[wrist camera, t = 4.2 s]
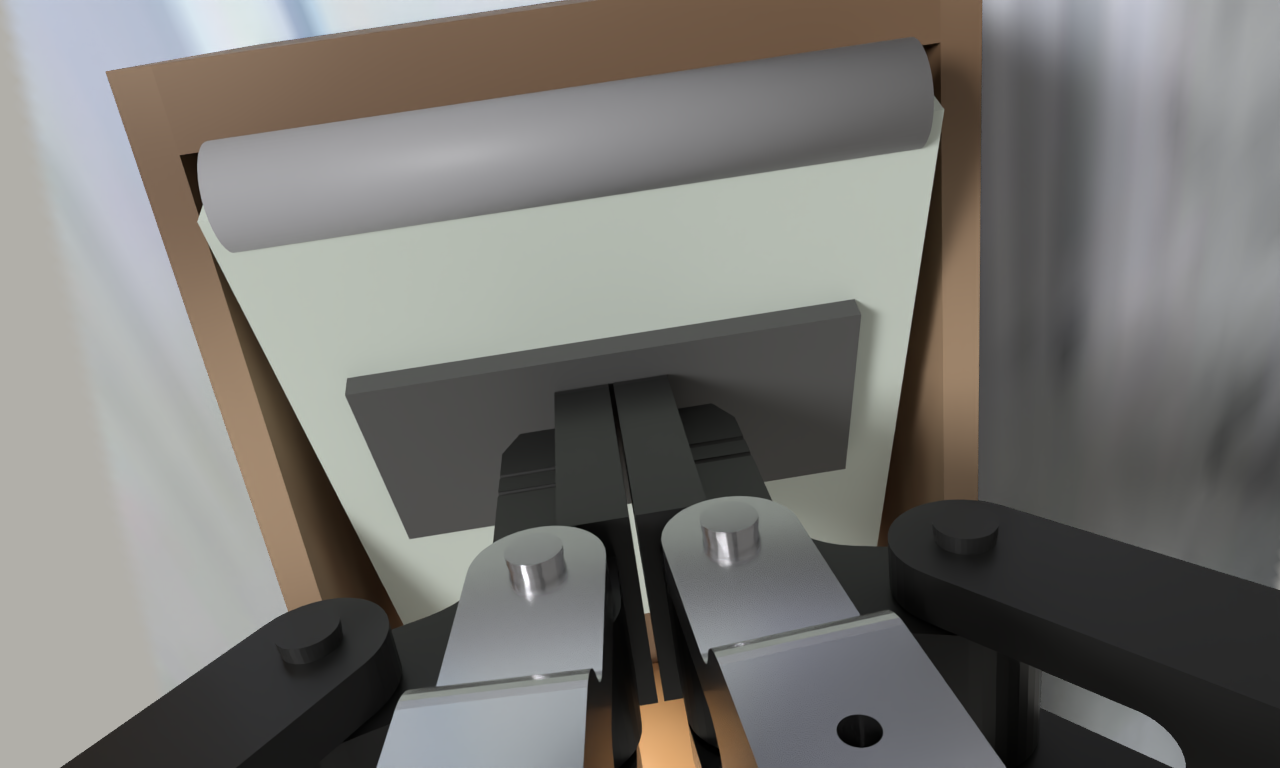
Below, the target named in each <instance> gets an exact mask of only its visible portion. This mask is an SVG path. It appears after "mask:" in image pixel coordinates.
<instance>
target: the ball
mask: <svg viewBox="0 0 1280 768" xmlns="http://www.w3.org/2000/svg"><path fill="white" fill-rule="evenodd" d="M652 666H653V672H654V678H655V685H656V691H657V697H658V703H654V704H648V705H642V706H640V712H641V720H642V734H641V739H640V742H639V748H640V753H641V759H642V766H643V768H696V767H695V764H694V760H693V755H692V748H691V741H690V734H689V728H688V721H687V715H686V710H685V704H684V699H683V698H682V699H676V700H670V701H664V696H663V690H662V684H661V678H660V672H659V666H658V663H654V664H652Z"/></svg>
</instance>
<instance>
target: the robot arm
mask: <svg viewBox="0 0 1280 768" xmlns="http://www.w3.org/2000/svg"><path fill="white" fill-rule="evenodd" d="M613 386H614V393H615V399H616V406H617V412H618V419H619V425H620V431H621V438H622V444H623V451H624V457H625V463H626V470H627V476H628V483H629V489H630V495H631V502H632V508H633V514H634V520H635V527H636V533H637V539H638V545H639V551H640V557H641V563H642V569H643V575H644V581H645V587H646V593H647V599H648V605H649V611H650V617H651V623H652V629H653V635H654V642H655V648H656V654H657V660H658V666H659V672H660V678H661V684H662V690H663V696H664V701H670V700H676V699H682V698H683V699H684V704H685V710H686V715H687V721H688V728H689V734H690V741H691V748H692V755H693V760H694V764H695V767H696V768H1172V767H1170V766H1168V765H1166V764H1163V763H1161V762H1159V761H1157V760H1155V759H1152V758H1150V757H1148V756H1146V755H1144V754H1141V753H1139V752H1137V751H1135V750H1132V749H1130V748H1128V747H1126V746H1124V745H1121V744H1119V743H1117V742H1115V741H1112V740H1110V739H1108V738H1106V737H1104V736H1101V735H1099V734H1097V733H1095V732H1092V731H1090V730H1088V729H1086V728H1084V727H1081V726H1079V725H1077V724H1075V723H1072V722H1070V721H1068V720H1066V719H1064V718H1061V717H1059V716H1057V715H1055V714H1053V713H1050V712H1048V711H1046V710H1044V709H1041V708H1040V698H1041V672H1042V671H1044V672H1046V673H1049V674H1051V675H1053V676H1056V677H1058V678H1061V679H1063V680H1065V681H1068V682H1070V683H1072V684H1075V685H1077V686H1080V687H1082V688H1084V689H1087V690H1089V691H1091V692H1094V693H1096V694H1099V695H1101V696H1103V697H1106V698H1108V699H1110V700H1113V701H1115V702H1117V703H1120V704H1122V705H1125V706H1127V707H1129V708H1132V709H1134V710H1136V711H1139V712H1141V713H1143V714H1145V715H1147V716H1149V717H1150V718H1152V719H1153V720H1155V721H1156V722H1157V723H1159V724H1160V725H1161V726H1163V727H1164V728H1165V729H1166V730H1167V731H1168V732H1169V733H1170V734H1171V735H1172V737H1173V738H1174V739H1175V740H1176V742H1177V743H1178V745H1179V747H1180V748H1181V750H1182V753H1183V755H1184V758H1185V762H1186V768H1280V590H1277V589H1274V588H1271V587H1267V586H1264V585H1261V584H1258V583H1254V582H1251V581H1248V580H1244V579H1241V578H1238V577H1235V576H1231V575H1228V574H1225V573H1222V572H1218V571H1215V570H1212V569H1208V568H1205V567H1202V566H1199V565H1195V564H1192V563H1189V562H1185V561H1182V560H1179V559H1176V558H1172V557H1169V556H1166V555H1162V554H1159V553H1156V552H1153V551H1149V550H1146V549H1143V548H1139V547H1136V546H1133V545H1130V544H1126V543H1123V542H1120V541H1117V540H1113V539H1110V538H1107V537H1103V536H1100V535H1097V534H1094V533H1090V532H1087V531H1084V530H1080V529H1077V528H1074V527H1071V526H1067V525H1064V524H1061V523H1057V522H1054V521H1051V520H1048V519H1044V518H1041V517H1038V516H1034V515H1031V514H1028V513H1025V512H1021V511H1018V510H1015V509H1012V508H1008V507H1005V506H1002V505H998V504H994V503H990V502H984V501H977V500H964V499H963V500H942V501H936V502H930V503H926V504H923V505H919V506H916V507H914V508H912V509H910V510H907V511H906V512H904V513H903V514H901V515H900V516H899V517H898V518H896V519H895V520H894V521H893V523H892V525H891V526H890V528H889V531H888V547H881V546H851V545H839V544H832V543H827V542H823V541H819V540H815V539H812V538H810V536H809V535H808V533H807V531H806V530H805V528H804V527H803V525H802V524H801V522H800V521H799V519H798V518H797V516H796V515H795V514H794V513H793V512H792V511H791V510H789V509H788V508H787V507H785V506H783V505H781V504H779V503H777V502H774V501H772V499H771V497H770V494H769V492H768V490H767V488H766V486H765V483H764V481H763V479H762V477H761V474H760V472H759V470H758V468H757V465H756V463H755V461H754V459H753V456H752V455H751V454H750V450H749V448H748V445H747V443H746V441H745V439H744V438H743V434H742V432H741V430H740V427H739V425H738V423H737V421H736V419H735V417H734V416H732V415H731V414H729V413H727V412H726V411H724V410H722V409H721V408H719V407H717V406H716V405H714V404H712V403H710V404H704V405H697V406H691V407H685V408H679V409H677V405H676V402H675V399H674V396H673V393H672V390H671V386H670V383H669V380H668V377H667V375H659V376H653V377H647V378H640V379H634V380H628V381H621V382H615V383H613ZM554 410H555V428H554V429H548V430H541V431H535V432H529V433H523V434H519V435H518V437H517V438H516V439H515V440H514V441H513V442H512V444H511V445H510V446H509V447H508V448H507V449H506V450H505V452H504V453H503V454H502V460H501V470H500V479H499V489H498V494H499V496H498V499H497V509H496V518H495V528H494V538H493V544H491V545H489V546H488V547H487V548H485V549H484V550H483V551H481V552H480V553H479V554H478V555H477V556H476V557H475V558H474V560H473V561H472V563H471V564H470V566H469V568H468V571H467V574H466V578H465V581H464V585H463V589H462V592H461V596H460V600H459V601H458V602H456V603H455V604H453V605H451V606H449V607H447V608H445V609H444V610H442V611H439V612H437V613H435V614H432V615H430V616H427V617H425V618H422V619H419V620H416V621H414V622H411V623H408V624H406V625H403V626H400V627H398V628H395V629H392V630H391V627H390V623H389V620H388V616H387V614H386V613H385V611H384V610H383V609H382V608H381V607H380V606H379V605H377V604H375V603H373V602H371V601H368V600H364V599H359V598H334V599H327V600H322V601H318V602H314V603H310V604H307V605H304V606H301V607H299V608H296V609H294V610H291V611H289V612H287V613H285V614H283V615H281V616H279V617H277V618H275V619H274V620H272V621H271V622H269V623H267V624H266V625H264V626H263V627H261V628H260V629H259V630H257V631H256V632H254V633H253V634H251V635H250V636H249V637H247V638H246V639H244V640H243V641H241V642H240V643H239V644H237V645H236V646H234V647H233V648H231V649H230V650H228V651H227V652H226V653H224V654H223V655H221V656H220V657H218V658H217V659H216V660H214V661H213V662H211V663H210V664H208V665H207V666H206V667H204V668H203V669H201V670H200V671H198V672H197V673H195V674H194V675H193V676H191V677H190V678H188V679H187V680H185V681H184V682H183V683H181V684H180V685H178V686H177V687H175V688H174V689H173V690H171V691H170V692H168V693H167V694H165V695H164V696H162V697H161V698H160V699H158V700H157V701H155V702H154V703H152V704H151V705H150V706H148V707H147V708H145V709H144V710H142V711H141V712H140V713H138V714H137V715H135V716H134V717H132V718H131V719H129V720H128V721H127V722H125V723H124V724H122V725H121V726H119V727H118V728H117V729H115V730H114V731H112V732H111V733H109V734H108V735H107V736H105V737H104V738H102V739H101V740H100V741H98V742H97V743H95V744H94V745H92V746H91V747H89V748H88V749H86V750H85V751H84V752H82V753H81V754H79V755H78V756H76V757H75V758H74V759H72V760H71V761H69V762H68V763H66V764H65V765H63V766H62V767H61V768H643V766H642V759H641V753H640V748H639V742H640V739H641V734H642V720H641V712H640V706H642V705H648V704H654V703H658V697H657V691H656V685H655V678H654V672H653V666H652V659H651V653H650V646H649V640H648V634H647V627H646V621H645V614H644V608H643V602H642V595H641V589H640V582H639V576H638V570H637V563H636V557H635V550H634V544H633V538H632V531H631V525H630V519H629V512H628V506H627V500H626V493H625V487H624V481H623V474H622V468H621V462H620V455H619V449H618V443H617V436H616V430H615V424H614V418H613V411H612V405H611V399H610V392H609V386H608V384H603V385H597V386H591V387H584V388H578V389H572V390H565V391H559V392H555V393H554Z"/></svg>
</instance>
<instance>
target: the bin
mask: <svg viewBox="0 0 1280 768" xmlns="http://www.w3.org/2000/svg"><path fill="white" fill-rule="evenodd" d="M907 37H914V38H916V39H918V40H919V42H920V43H921V44H922V46H923V48H924V50H925V52H926V55H927V57H928V61H929V64H930V68H931V74H932V80H933V90H934V96H935V97H936V99H937V100H938V102H939V103H940V104H941V106H942V107H943V108H944V115H943V121H942V128H941V134H940V141H939V147H938V154H937V160H936V167H935V173H934V180H933V186H932V193H931V199H930V206H929V212H928V219H927V225H926V231H925V238H924V244H923V251H922V257H921V264H920V270H919V277H918V283H917V290H916V296H915V303H914V309H913V316H912V322H911V329H910V335H909V342H908V348H907V355H906V361H905V368H904V374H903V381H902V387H901V394H900V400H899V407H898V413H897V420H896V426H895V432H894V439H893V445H892V452H891V458H890V465H889V471H888V478H887V484H886V491H885V497H884V504H883V510H882V517H881V523H880V530H879V536H878V543H877V546H881V547H888V531H889V528H890V526H891V525H892V523H893V521H894V520H895V519H896V518H898V517H899V516H900V515H901V514H903V513H904V512H906V511H907V510H910V509H912V508H914V507H916V506H919V505H923V504H926V503H930V502H936V501H942V500H963V499H964V500H977V501H978V427H979V311H980V196H981V80H982V0H563V1H557V2H550V3H543V4H536V5H529V6H522V7H515V8H508V9H501V10H494V11H487V12H481V13H474V14H467V15H460V16H453V17H446V18H439V19H432V20H425V21H418V22H412V23H405V24H398V25H391V26H384V27H377V28H370V29H363V30H356V31H349V32H343V33H336V34H329V35H322V36H315V37H308V38H301V39H294V40H287V41H280V42H274V43H267V44H260V45H254V46H248V47H242V48H237V49H231V50H225V51H220V52H214V53H208V54H202V55H197V56H191V57H185V58H180V59H174V60H168V61H162V62H157V63H151V64H145V65H140V66H134V67H128V68H122V69H117V70H111V71H106V74H107V77H108V80H109V83H110V86H111V89H112V92H113V95H114V98H115V101H116V104H117V107H118V110H119V113H120V116H121V119H122V122H123V125H124V128H125V131H126V133H127V136H128V139H129V142H130V145H131V148H132V151H133V154H134V157H135V160H136V163H137V166H138V169H139V172H140V175H141V178H142V181H143V184H144V187H145V190H146V193H147V195H148V198H149V201H150V204H151V207H152V210H153V213H154V216H155V219H156V222H157V225H158V228H159V231H160V234H161V237H162V240H163V243H164V246H165V249H166V252H167V255H168V258H169V260H170V263H171V266H172V269H173V272H174V275H175V278H176V281H177V284H178V287H179V290H180V293H181V296H182V299H183V302H184V305H185V308H186V311H187V314H188V317H189V320H190V323H191V325H192V328H193V331H194V334H195V337H196V340H197V343H198V346H199V349H200V352H201V355H202V358H203V361H204V364H205V367H206V370H207V373H208V376H209V379H210V382H211V385H212V388H213V390H214V393H215V396H216V399H217V402H218V405H219V408H220V411H221V414H222V417H223V420H224V423H225V426H226V429H227V432H228V435H229V438H230V441H231V444H232V447H233V450H234V453H235V455H236V458H237V461H238V464H239V467H240V470H241V473H242V476H243V479H244V482H245V485H246V488H247V491H248V494H249V497H250V500H251V503H252V506H253V509H254V512H255V515H256V517H257V520H258V523H259V526H260V529H261V532H262V535H263V538H264V541H265V544H266V547H267V550H268V553H269V556H270V559H271V562H272V565H273V568H274V571H275V574H276V577H277V580H278V582H279V585H280V588H281V591H282V594H283V597H284V600H285V603H286V606H287V609H288V612H289V611H291V610H294V609H296V608H299V607H301V606H304V605H307V604H310V603H314V602H318V601H322V600H327V599H334V598H359V599H364V600H368V601H371V602H373V603H375V604H377V605H379V606H380V607H381V608H382V609H383V610H384V611H385V613H386V614H387V616H388V620H389V623H390V627H391V630H392V629H395V628H398V627H400V626H403V623H402V621H401V619H400V617H399V615H398V613H397V611H396V609H395V607H394V605H393V603H392V601H391V599H390V597H389V595H388V593H387V591H386V589H385V587H384V586H383V584H382V582H381V580H380V578H379V576H378V574H377V572H376V570H375V568H374V566H373V564H372V562H371V560H370V558H369V556H368V554H367V552H366V550H365V548H364V546H363V545H362V543H361V541H360V539H359V537H358V535H357V533H356V531H355V529H354V527H353V525H352V523H351V521H350V519H349V517H348V515H347V513H346V511H345V509H344V507H343V505H342V504H341V502H340V500H339V498H338V496H337V494H336V492H335V490H334V488H333V486H332V484H331V482H330V480H329V478H328V476H327V474H326V472H325V470H324V468H323V466H322V464H321V463H320V461H319V459H318V457H317V455H316V453H315V451H314V449H313V447H312V445H311V443H310V441H309V439H308V437H307V435H306V433H305V431H304V429H303V427H302V425H301V424H300V422H299V420H298V418H297V416H296V414H295V412H294V410H293V408H292V406H291V404H290V402H289V400H288V398H287V396H286V394H285V392H284V390H283V388H282V386H281V384H280V383H279V381H278V379H277V377H276V375H275V373H274V371H273V369H272V367H271V365H270V363H269V361H268V359H267V357H266V355H265V353H264V351H263V349H262V347H261V345H260V343H259V342H258V340H257V338H256V336H255V334H254V332H253V330H252V328H251V326H250V324H249V322H248V320H247V318H246V316H245V314H244V312H243V310H242V308H241V306H240V304H239V302H238V301H237V299H236V297H235V295H234V293H233V291H232V289H231V287H230V285H229V283H228V281H227V279H226V277H225V275H224V273H223V271H222V269H221V267H220V265H219V263H218V261H217V260H216V258H215V256H214V254H213V252H212V250H211V248H210V246H209V244H208V242H207V240H206V238H205V236H204V234H203V232H202V230H201V228H200V226H199V224H198V222H197V221H198V218H199V215H200V212H201V209H202V206H203V203H202V199H201V195H200V189H199V183H198V174H197V161H198V153H199V150H200V147H201V145H202V144H203V143H204V142H206V141H210V140H217V139H224V138H230V137H237V136H244V135H251V134H257V133H264V132H271V131H278V130H284V129H291V128H298V127H305V126H312V125H318V124H325V123H332V122H339V121H345V120H352V119H359V118H366V117H372V116H379V115H386V114H393V113H400V112H406V111H413V110H420V109H427V108H433V107H440V106H447V105H454V104H460V103H467V102H474V101H481V100H488V99H494V98H501V97H508V96H515V95H521V94H528V93H535V92H542V91H548V90H555V89H562V88H569V87H575V86H582V85H589V84H596V83H603V82H609V81H616V80H623V79H630V78H636V77H643V76H650V75H657V74H663V73H670V72H677V71H684V70H691V69H697V68H704V67H711V66H718V65H724V64H731V63H738V62H745V61H751V60H758V59H765V58H772V57H779V56H785V55H792V54H799V53H806V52H812V51H819V50H826V49H833V48H839V47H846V46H853V45H860V44H867V43H873V42H880V41H887V40H894V39H900V38H907ZM645 621H646V627H647V634H648V640H649V646H650V653H651V659H652V664H654V663H658V660H657V654H656V648H655V642H654V635H653V629H652V623H651V617H650V613H645Z"/></svg>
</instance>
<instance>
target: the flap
mask: <svg viewBox="0 0 1280 768" xmlns="http://www.w3.org/2000/svg"><path fill="white" fill-rule="evenodd" d="M943 115H944V108H943V107H942V106H941V104H940V103H939V102H938V100H937V99H936V97H935V96H934V90H933V80H932V74H931V68H930V64H929V61H928V57H927V55H926V52H925V50H924V48H923V46H922V44H921V43H920V42H919V40H918V39H916V38H914V37H907V38H900V39H894V40H887V41H880V42H873V43H867V44H860V45H853V46H846V47H839V48H833V49H826V50H819V51H812V52H806V53H799V54H792V55H785V56H779V57H772V58H765V59H758V60H751V61H745V62H738V63H731V64H724V65H718V66H711V67H704V68H697V69H691V70H684V71H677V72H670V73H663V74H657V75H650V76H643V77H636V78H630V79H623V80H616V81H609V82H603V83H596V84H589V85H582V86H575V87H569V88H562V89H555V90H548V91H542V92H535V93H528V94H521V95H515V96H508V97H501V98H494V99H488V100H481V101H474V102H467V103H460V104H454V105H447V106H440V107H433V108H427V109H420V110H413V111H406V112H400V113H393V114H386V115H379V116H372V117H366V118H359V119H352V120H345V121H339V122H332V123H325V124H318V125H312V126H305V127H298V128H291V129H284V130H278V131H271V132H264V133H257V134H251V135H244V136H237V137H230V138H224V139H217V140H210V141H206V142H204V143H203V144H202V145H201V147H200V150H199V153H198V161H197V174H198V183H199V189H200V195H201V199H202V203H203V206H202V209H201V212H200V215H199V218H198V221H197V222H198V224H199V226H200V228H201V230H202V232H203V234H204V236H205V238H206V240H207V242H208V244H209V246H210V248H211V250H212V252H213V254H214V256H215V258H216V260H217V261H218V263H219V265H220V267H221V269H222V271H223V273H224V275H225V277H226V279H227V281H228V283H229V285H230V287H231V289H232V291H233V293H234V295H235V297H236V299H237V301H238V302H239V304H240V306H241V308H242V310H243V312H244V314H245V316H246V318H247V320H248V322H249V324H250V326H251V328H252V330H253V332H254V334H255V336H256V338H257V340H258V342H259V343H260V345H261V347H262V349H263V351H264V353H265V355H266V357H267V359H268V361H269V363H270V365H271V367H272V369H273V371H274V373H275V375H276V377H277V379H278V381H279V383H280V384H281V386H282V388H283V390H284V392H285V394H286V396H287V398H288V400H289V402H290V404H291V406H292V408H293V410H294V412H295V414H296V416H297V418H298V420H299V422H300V424H301V425H302V427H303V429H304V431H305V433H306V435H307V437H308V439H309V441H310V443H311V445H312V447H313V449H314V451H315V453H316V455H317V457H318V459H319V461H320V463H321V464H322V466H323V468H324V470H325V472H326V474H327V476H328V478H329V480H330V482H331V484H332V486H333V488H334V490H335V492H336V494H337V496H338V498H339V500H340V502H341V504H342V505H343V507H344V509H345V511H346V513H347V515H348V517H349V519H350V521H351V523H352V525H353V527H354V529H355V531H356V533H357V535H358V537H359V539H360V541H361V543H362V545H363V546H364V548H365V550H366V552H367V554H368V556H369V558H370V560H371V562H372V564H373V566H374V568H375V570H376V572H377V574H378V576H379V578H380V580H381V582H382V584H383V586H384V587H385V589H386V591H387V593H388V595H389V597H390V599H391V601H392V603H393V605H394V607H395V609H396V611H397V613H398V615H399V617H400V619H401V621H402V623H403V625H406V624H408V623H411V622H414V621H416V620H419V619H422V618H425V617H427V616H430V615H432V614H435V613H437V612H439V611H442V610H444V609H445V608H447V607H449V606H451V605H453V604H455V603H456V602H458V601H459V600H460V596H461V592H462V589H463V585H464V581H465V578H466V574H467V571H468V568H469V566H470V564H471V563H472V561H473V560H474V558H475V557H476V556H477V555H478V554H479V553H480V552H481V551H483V550H484V549H485V548H487V547H488V546H489V545H491V544H493V538H494V528H495V518H496V509H497V499H498V496H499V494H498V489H499V479H500V470H501V460H502V454H503V453H504V452H505V450H506V449H507V448H508V447H509V446H510V445H511V444H512V442H513V441H514V440H515V439H516V438H517V437H518V435H519V434H523V433H529V432H535V431H541V430H548V429H554V428H555V410H554V393H555V392H559V391H565V390H572V389H578V388H584V387H591V386H597V385H603V384H608V386H609V392H610V399H611V405H612V411H613V418H614V424H615V430H616V436H617V443H618V449H619V455H620V462H621V468H622V474H623V481H624V487H625V493H626V500H627V506H628V512H629V519H630V525H631V531H632V538H633V544H634V550H635V557H636V563H637V570H638V576H639V582H640V589H641V595H642V602H643V608H644V614H645V613H650V611H649V605H648V599H647V593H646V587H645V581H644V575H643V569H642V563H641V557H640V551H639V545H638V539H637V533H636V527H635V520H634V514H633V508H632V502H631V495H630V489H629V483H628V476H627V470H626V463H625V457H624V451H623V444H622V438H621V431H620V425H619V419H618V412H617V406H616V399H615V393H614V386H613V383H615V382H621V381H628V380H634V379H640V378H647V377H653V376H659V375H667V377H668V380H669V383H670V386H671V390H672V393H673V396H674V399H675V402H676V405H677V409H679V408H685V407H691V406H697V405H704V404H710V403H712V404H714V405H716V406H717V407H719V408H721V409H722V410H724V411H726V412H727V413H729V414H731V415H732V416H734V417H735V419H736V421H737V423H738V425H739V427H740V430H741V432H742V434H743V438H744V439H745V441H746V443H747V445H748V448H749V450H750V454H751V455H752V456H753V459H754V461H755V463H756V465H757V468H758V470H759V472H760V474H761V477H762V479H763V481H764V483H765V486H766V488H767V490H768V492H769V494H770V497H771V499H772V501H774V502H777V503H779V504H781V505H783V506H785V507H787V508H788V509H789V510H791V511H792V512H793V513H794V514H795V515H796V516H797V518H798V519H799V521H800V522H801V524H802V525H803V527H804V528H805V530H806V531H807V533H808V535H809V536H810V538H812V539H815V540H819V541H823V542H827V543H832V544H839V545H851V546H877V543H878V536H879V530H880V523H881V517H882V510H883V504H884V497H885V491H886V484H887V478H888V471H889V465H890V458H891V452H892V445H893V439H894V432H895V426H896V420H897V413H898V407H899V400H900V394H901V387H902V381H903V374H904V368H905V361H906V355H907V348H908V342H909V335H910V329H911V322H912V316H913V309H914V303H915V296H916V290H917V283H918V277H919V270H920V264H921V257H922V251H923V244H924V238H925V231H926V225H927V219H928V212H929V206H930V199H931V193H932V186H933V180H934V173H935V167H936V160H937V154H938V147H939V141H940V134H941V128H942V121H943Z"/></svg>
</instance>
